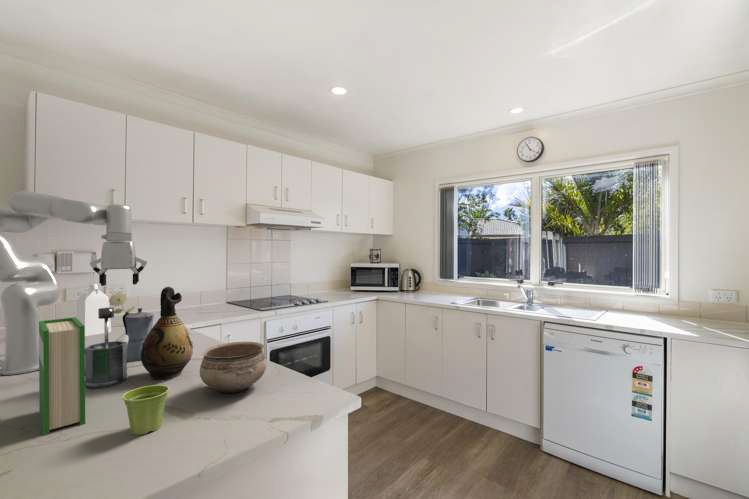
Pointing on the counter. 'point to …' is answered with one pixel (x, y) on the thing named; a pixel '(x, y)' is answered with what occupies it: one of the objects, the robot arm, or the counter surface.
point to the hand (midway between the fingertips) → (119, 284)
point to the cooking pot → (233, 366)
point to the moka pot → (137, 332)
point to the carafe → (105, 365)
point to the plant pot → (145, 407)
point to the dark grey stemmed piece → (106, 320)
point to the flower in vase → (116, 301)
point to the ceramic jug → (167, 341)
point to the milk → (92, 310)
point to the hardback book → (61, 373)
